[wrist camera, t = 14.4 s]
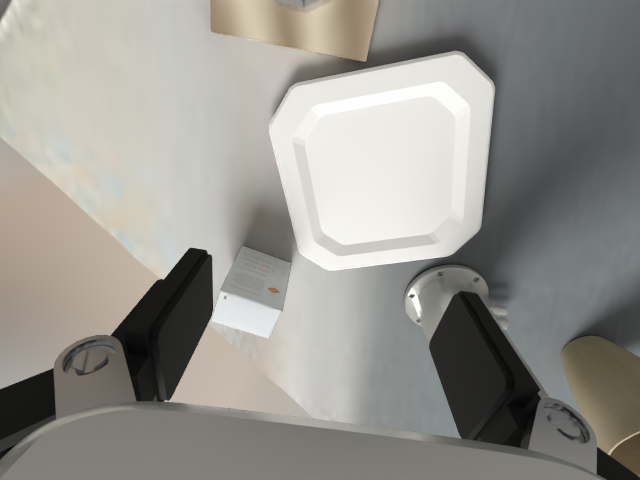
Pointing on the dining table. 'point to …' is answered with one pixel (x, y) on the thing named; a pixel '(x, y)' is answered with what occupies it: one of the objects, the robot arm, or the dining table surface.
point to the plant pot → (607, 395)
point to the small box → (253, 293)
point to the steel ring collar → (301, 4)
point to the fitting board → (300, 25)
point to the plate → (386, 160)
